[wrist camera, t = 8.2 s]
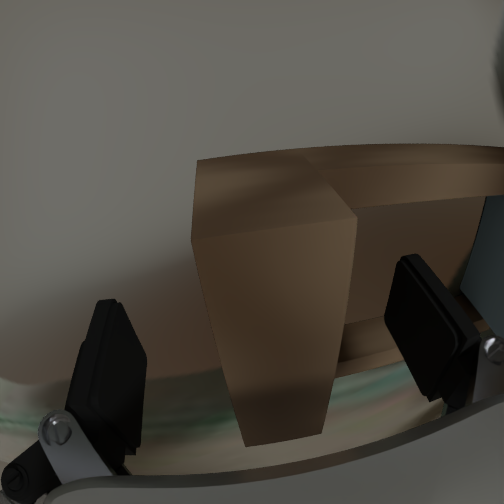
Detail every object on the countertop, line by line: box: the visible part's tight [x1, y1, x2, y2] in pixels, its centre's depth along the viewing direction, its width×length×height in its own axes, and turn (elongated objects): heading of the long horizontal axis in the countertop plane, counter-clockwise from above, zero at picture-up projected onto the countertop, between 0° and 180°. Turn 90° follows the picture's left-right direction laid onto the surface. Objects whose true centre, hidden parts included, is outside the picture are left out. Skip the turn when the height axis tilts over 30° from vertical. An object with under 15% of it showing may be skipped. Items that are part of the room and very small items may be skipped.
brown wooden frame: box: [191, 144, 504, 447], centre depth 11 cm, size 21×9×4 cm, turn 95°
